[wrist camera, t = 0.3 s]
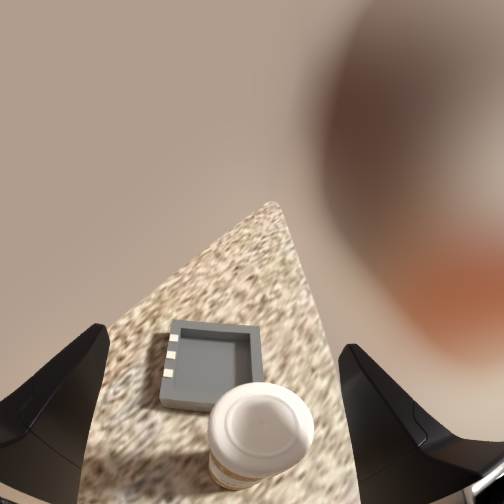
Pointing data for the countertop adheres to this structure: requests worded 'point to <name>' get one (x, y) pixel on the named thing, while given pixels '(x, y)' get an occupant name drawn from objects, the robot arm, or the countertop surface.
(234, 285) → the countertop surface
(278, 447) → the sprinkles bottle
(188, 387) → the dish
